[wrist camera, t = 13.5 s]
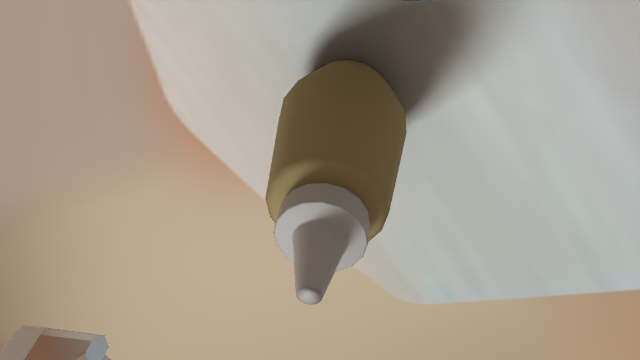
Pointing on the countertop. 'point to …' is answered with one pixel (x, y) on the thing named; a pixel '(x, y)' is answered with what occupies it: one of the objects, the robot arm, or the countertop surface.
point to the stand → (421, 0)
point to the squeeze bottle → (333, 170)
